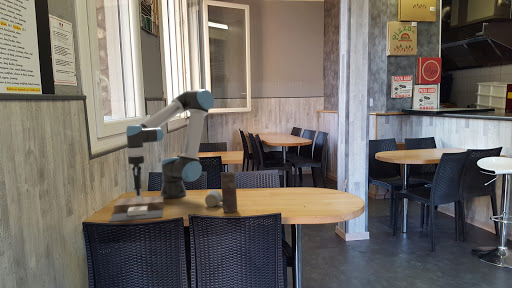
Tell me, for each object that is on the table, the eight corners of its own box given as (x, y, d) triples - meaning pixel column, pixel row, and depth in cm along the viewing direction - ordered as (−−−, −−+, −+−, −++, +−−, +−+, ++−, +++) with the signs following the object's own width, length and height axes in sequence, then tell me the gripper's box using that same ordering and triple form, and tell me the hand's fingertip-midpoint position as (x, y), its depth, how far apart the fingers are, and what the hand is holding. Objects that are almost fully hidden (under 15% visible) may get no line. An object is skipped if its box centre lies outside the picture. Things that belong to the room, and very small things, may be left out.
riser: (164, 202, 202) (163, 195, 202) (163, 209, 188) (162, 201, 188) (118, 206, 197) (118, 199, 196) (114, 213, 183) (113, 205, 183)
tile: (148, 209, 187) (147, 205, 186) (146, 214, 179) (146, 209, 179) (129, 211, 185) (129, 207, 184) (127, 215, 177) (127, 211, 177)
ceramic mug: (204, 207, 190) (204, 193, 189) (208, 203, 198) (208, 189, 197) (224, 208, 188) (223, 193, 187) (227, 204, 196) (227, 190, 195)
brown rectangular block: (219, 211, 182) (218, 172, 180) (230, 208, 187) (229, 170, 185) (229, 214, 176) (227, 173, 174) (240, 211, 181) (239, 171, 180)
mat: (163, 209, 187) (163, 208, 187) (162, 217, 174) (162, 216, 174) (114, 213, 182) (114, 212, 182) (109, 222, 169) (109, 221, 169)
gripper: (129, 154, 188) (132, 199, 191) (126, 157, 176) (129, 205, 178) (144, 153, 190) (147, 197, 192) (142, 157, 177) (145, 204, 180)
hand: (139, 201), depth 185 cm, fingers closed
